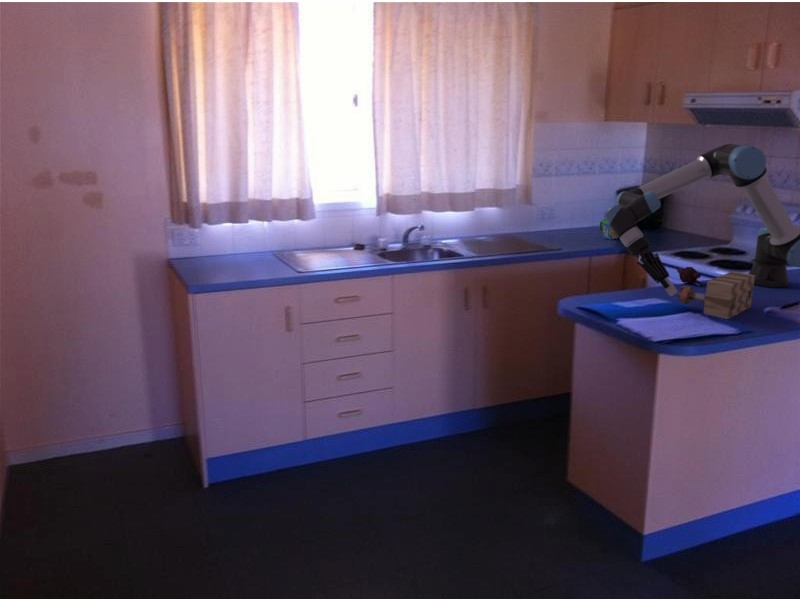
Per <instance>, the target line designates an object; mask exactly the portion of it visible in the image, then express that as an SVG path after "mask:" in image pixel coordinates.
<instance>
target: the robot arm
mask: <svg viewBox="0 0 800 600" xmlns="http://www.w3.org/2000/svg"><path fill="white" fill-rule="evenodd" d="M766 164H767V158H766V155H765V153H764V152H763V151H762V150H761V149H760V148H759V147H756V146H754V145H750V144H737V143H726V144H723V145H719V146H717V147H716V148H712V149H711V150H709V151H706V152H704V153H702V154H700V155H698V156H697V157H696V159H695V160H694V161H692V162H690V163H687V164H686V165H683V166H681V167H678V168H676V169H675V170H673V171H671V172H669V173H666V174H664V175H662V176H660V177H657V178H656V179H653V180H651V181H648V183H645V184H642V185H641V186H639V187H637V188H634V189H632V190H625V191H621V192H620V193H619V194H618V195H617V196H616V198H615V205H612V206H610V207H609V208H608V209H607V210H606V211H605V212H604V214H603V215H604V216H603V217H604V219H606V221H607V222H608V224H609V226H610V227H611V228H612V229H613V231H614V232H615V233H616V234H617V236H618V239H619V240H620V241H621V244H623V246H624V247H625V248H627V251H628V252H629V254H630V255H631V256H632V257H636V258H637V259H638V260H637V261H636V264H638V265H639V266H640V267H641V268H642V269H643V270H644V271H645V273H647V274H648V275H649V277H650V278H651V279H652V280H653V281H654V282H655V283H657V284H661V286H662V287H663V288H664V289H665V291H666V293H667V294H668V295H669V297H670V298H672V297H674V296H675V295H677V294H679V291H678V290H677V288H676V287H675V286H674V284H673V283H672V282H671V280H670V279H669V278H668V277H670V273H669V272H668V270H667V268H666V267H665V265H664V263H663V262H662V260H661V259H660V256H659V254H658V253H654V252H652V250H651V249H650V248H649V247H650V246H651V243H650V241H648V239H647V238H646V236H644V234H643V232H642V231H641V230H640V228H639V227H638V226H637V223H639V222H640V221H642V220H643V219H645V218H646V217H648V216H650V215H652V214H654V213H655V212H656V211H657V210H659V209H661V203H662V202H661V200H660V199H662V198H664V197H666V196H668V195H670V194H672V193H676V191H679V190H681V189H683V188H686V187H688V186H690V185H693V184H694V183H697V182H699V181H701V180H702V179H706V180H708V179H711V178H713V177H716V176H724V175H725V176H729V178H730V179H731V181H732V183H734V186H735V187H736V188H738V189H742V190H743V192H744V194H745V195H746V197H747V198H748V199H749V201H750V203H751V204H752V206H753V208H754V210H755V211H756V213H757V214H758V216H759V218H760V219H761V221H762V224H764V227H761V228H760V229H759V230H758V232H757V237H756V238H757V239H756V240H757V241H756V248H755V252H754V253H755V255H754V262H753V264H752V266H751V269H750V270H749V273H748V274H751V275H755V279H754V284H756V285H755V286H758V285H761V286H760V287H764V286H767V287H766V288H786V287H788V286H789V282H790V281H789V280H790V278H789V273H788V269H787V268H788V267H787V265H788V266H790V267H794V268H800V225H798V224H797V225H796V224H794V222H793V221H792V219H791V217H790V215H789V214H788V212H787V211H786V209H785V207H784V205H783V204H782V202H781V200H780V199H779V197H778V195H777V193H776V192H775V190H774V188H773V187H772V185H771V183H770V182H769V180H768V178H767V177H766V174H767V173H768V169H767V168H766Z"/></svg>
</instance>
